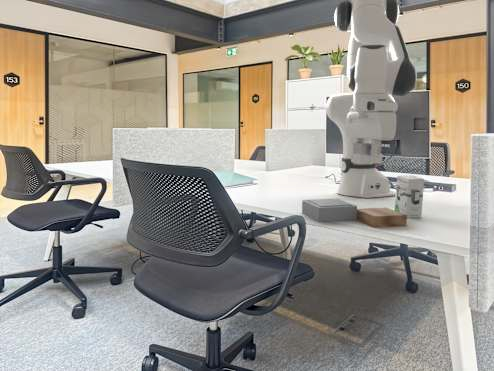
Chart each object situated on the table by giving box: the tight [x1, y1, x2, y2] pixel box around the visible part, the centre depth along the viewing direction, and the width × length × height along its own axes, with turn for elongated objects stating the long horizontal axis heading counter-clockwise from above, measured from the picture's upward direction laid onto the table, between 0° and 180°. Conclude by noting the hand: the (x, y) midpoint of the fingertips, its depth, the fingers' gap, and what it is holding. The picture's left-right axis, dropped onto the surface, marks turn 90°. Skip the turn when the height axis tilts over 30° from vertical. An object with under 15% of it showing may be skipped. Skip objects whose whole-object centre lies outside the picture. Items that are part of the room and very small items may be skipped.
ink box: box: [394, 174, 425, 219], centre depth 125 cm, size 9×5×12 cm, turn 4°
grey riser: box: [301, 198, 358, 223], centre depth 122 cm, size 12×12×4 cm
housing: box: [351, 143, 384, 164], centre depth 116 cm, size 7×5×6 cm
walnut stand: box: [356, 207, 408, 228], centre depth 116 cm, size 10×10×3 cm
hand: (366, 155), depth 116 cm, fingers closed on housing, 5 cm apart
